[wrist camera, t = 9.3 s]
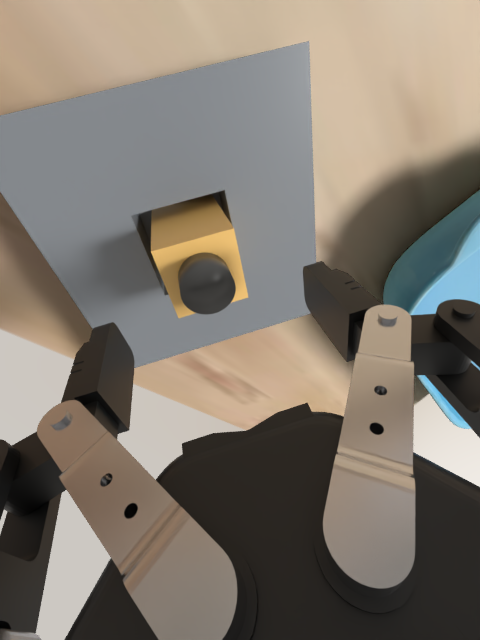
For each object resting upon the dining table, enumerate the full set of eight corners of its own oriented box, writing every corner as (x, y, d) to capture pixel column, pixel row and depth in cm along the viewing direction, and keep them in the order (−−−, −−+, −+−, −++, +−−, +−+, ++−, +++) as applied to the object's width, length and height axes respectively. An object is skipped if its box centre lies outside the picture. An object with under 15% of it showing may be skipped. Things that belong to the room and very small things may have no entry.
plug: (211, 192, 19) (241, 239, 13) (224, 248, 22) (255, 312, 15) (151, 209, 19) (150, 265, 12) (172, 263, 21) (180, 335, 15)
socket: (280, 53, 17) (309, 41, 14) (298, 286, 27) (317, 311, 23) (-5, 121, 16) (-44, 126, 12) (125, 339, 25) (121, 371, 22)
